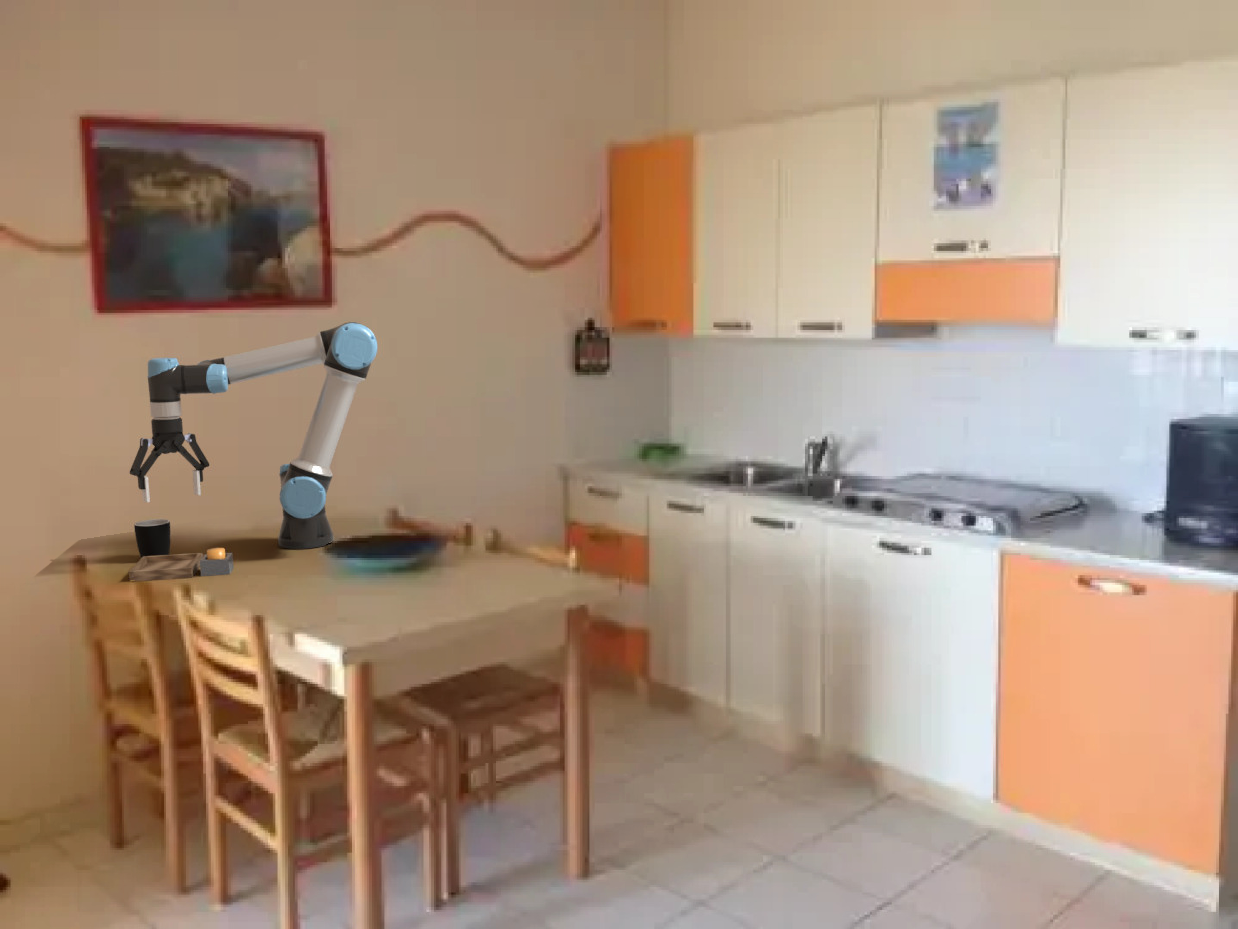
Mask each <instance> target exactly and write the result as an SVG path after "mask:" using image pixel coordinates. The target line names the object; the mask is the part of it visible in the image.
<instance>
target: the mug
mask: <svg viewBox="0 0 1238 929" xmlns="http://www.w3.org/2000/svg"><path fill="white" fill-rule="evenodd" d="M134 535H135V540H136V545H137V549H138V552H139V553H138V554H139V556H140V559H141V558H142V557H143V556H158V555H170V550H171V522H170V520H169V519H165V518H152V519H151V518H150V519H146V520H141V521H137V522H135V523H134Z"/></svg>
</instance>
